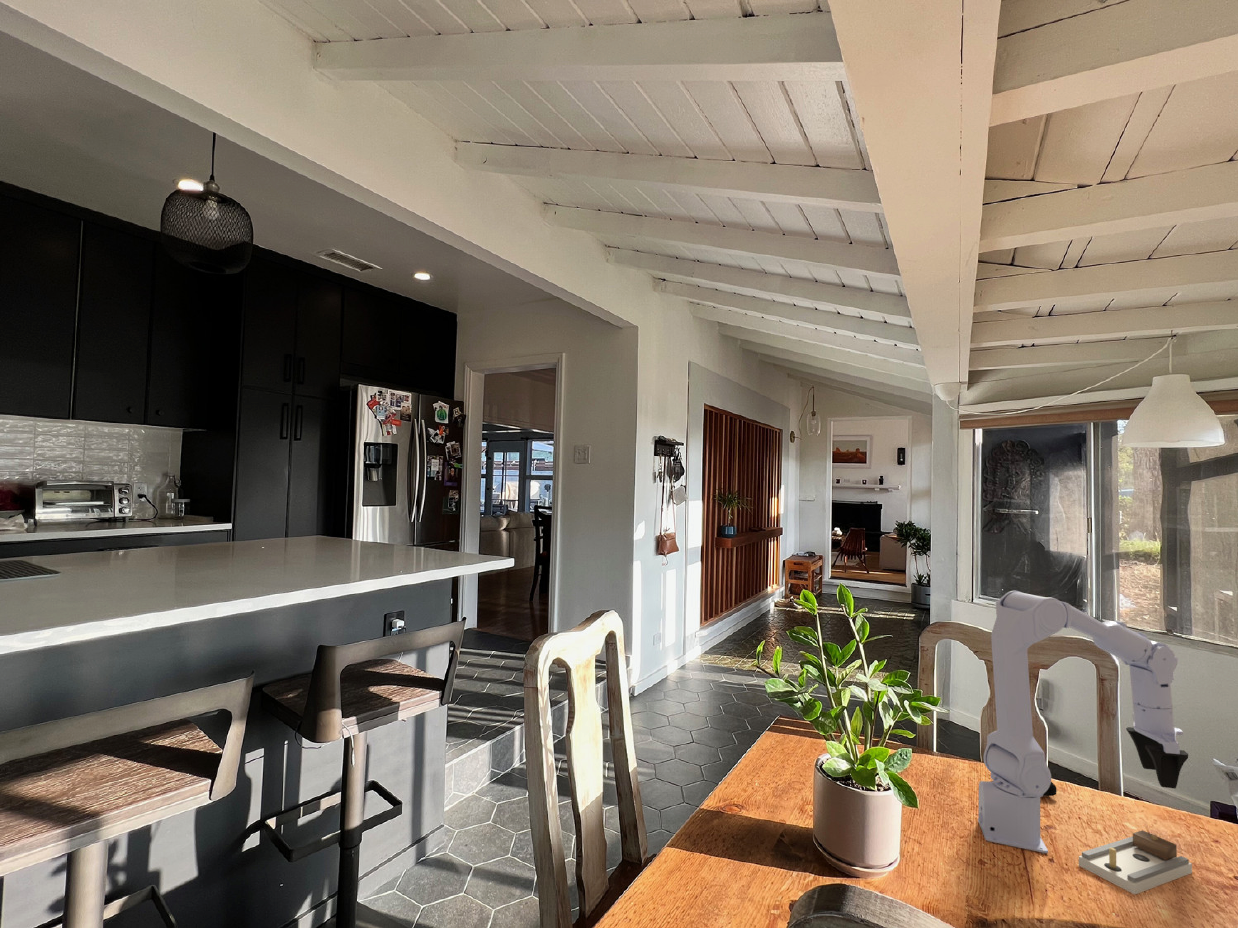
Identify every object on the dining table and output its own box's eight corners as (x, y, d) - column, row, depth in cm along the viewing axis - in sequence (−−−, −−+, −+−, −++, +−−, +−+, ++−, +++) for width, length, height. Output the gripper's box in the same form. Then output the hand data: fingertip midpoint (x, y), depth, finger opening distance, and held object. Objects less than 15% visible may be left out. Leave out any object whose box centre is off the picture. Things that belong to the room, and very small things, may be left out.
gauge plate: (1134, 894, 95) (1134, 865, 95) (1078, 865, 102) (1078, 838, 102) (1192, 872, 101) (1191, 845, 101) (1135, 846, 108) (1135, 821, 109)
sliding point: (1166, 860, 101) (1166, 844, 101) (1133, 844, 106) (1132, 830, 106) (1176, 856, 102) (1176, 841, 103) (1142, 841, 107) (1142, 827, 107)
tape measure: (1058, 801, 125) (1058, 783, 125) (1022, 797, 126) (1022, 779, 126) (1040, 786, 132) (1040, 768, 132) (1006, 783, 133) (1006, 765, 133)
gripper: (1198, 719, 106) (1206, 798, 106) (1161, 693, 120) (1168, 763, 119) (1148, 715, 109) (1155, 793, 108) (1117, 690, 122) (1123, 759, 122)
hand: (1158, 777), depth 114 cm, fingers open, 7 cm apart
